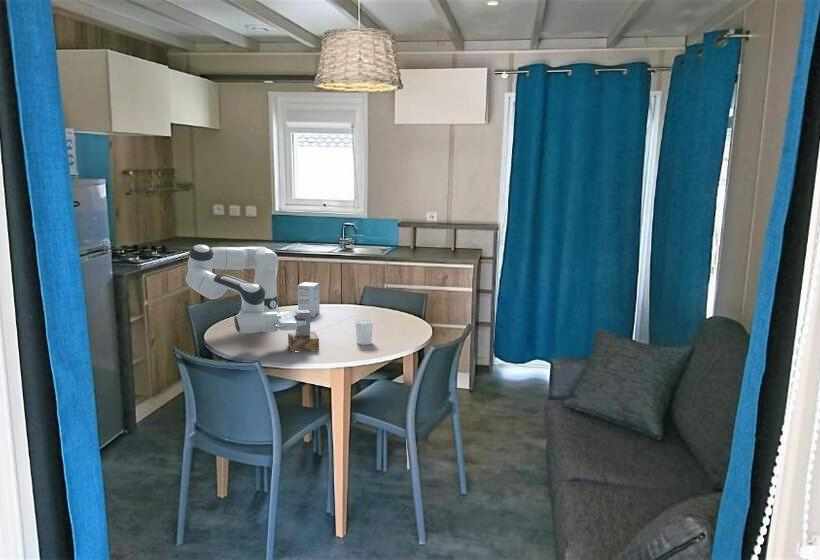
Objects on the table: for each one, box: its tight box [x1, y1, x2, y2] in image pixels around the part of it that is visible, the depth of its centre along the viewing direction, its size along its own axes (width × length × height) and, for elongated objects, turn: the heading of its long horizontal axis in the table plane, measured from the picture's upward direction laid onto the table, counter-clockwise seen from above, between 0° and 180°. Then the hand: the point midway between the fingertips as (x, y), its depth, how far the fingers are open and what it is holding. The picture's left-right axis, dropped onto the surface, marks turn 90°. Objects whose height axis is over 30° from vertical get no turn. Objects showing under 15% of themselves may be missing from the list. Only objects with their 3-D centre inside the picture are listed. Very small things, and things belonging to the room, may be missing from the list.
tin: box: [295, 309, 311, 337], centre depth 284 cm, size 6×6×11 cm
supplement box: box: [297, 281, 321, 317], centre depth 348 cm, size 10×9×17 cm
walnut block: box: [287, 331, 320, 353], centre depth 285 cm, size 12×12×6 cm
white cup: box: [355, 319, 374, 346], centre depth 294 cm, size 8×8×10 cm
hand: (304, 319), depth 284 cm, fingers open, 8 cm apart
